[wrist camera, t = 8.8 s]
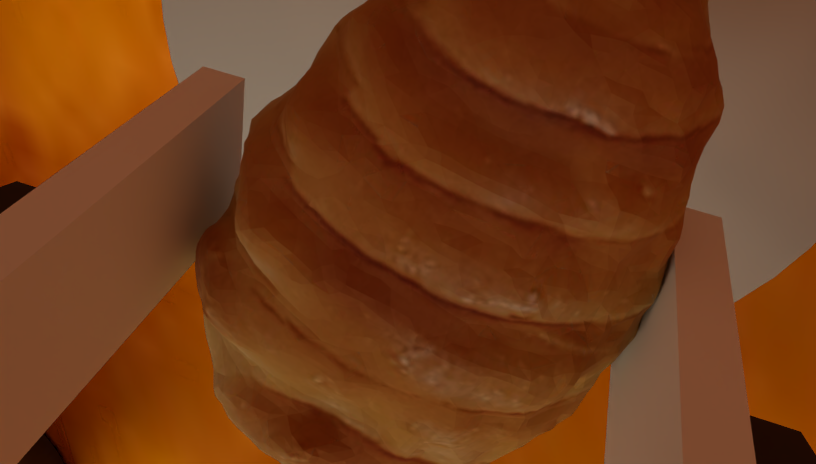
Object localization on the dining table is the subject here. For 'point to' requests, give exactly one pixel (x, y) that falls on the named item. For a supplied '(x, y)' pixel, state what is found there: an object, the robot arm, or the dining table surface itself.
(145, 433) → the dining table surface
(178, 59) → the cake stand
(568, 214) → the pastry
